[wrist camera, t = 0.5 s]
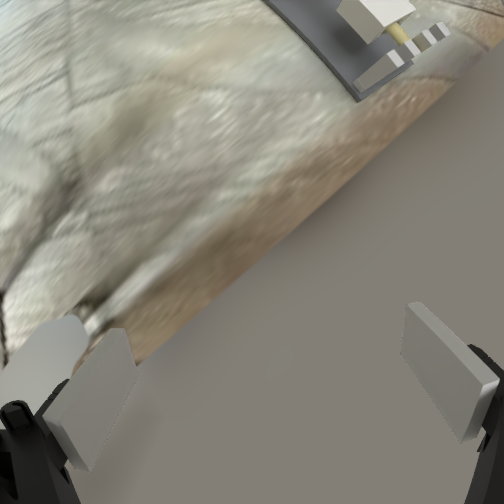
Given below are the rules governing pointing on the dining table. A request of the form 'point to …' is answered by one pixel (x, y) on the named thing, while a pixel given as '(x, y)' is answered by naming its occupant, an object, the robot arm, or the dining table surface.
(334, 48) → the cable comb board
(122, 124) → the dining table surface
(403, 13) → the sleeve
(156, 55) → the dining table surface
